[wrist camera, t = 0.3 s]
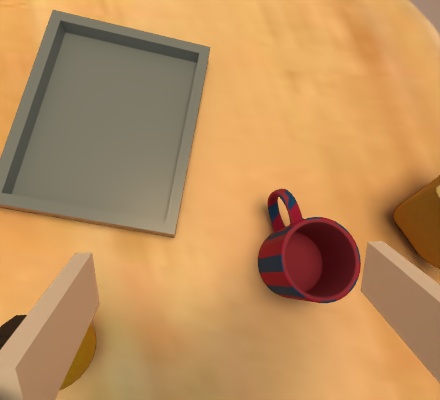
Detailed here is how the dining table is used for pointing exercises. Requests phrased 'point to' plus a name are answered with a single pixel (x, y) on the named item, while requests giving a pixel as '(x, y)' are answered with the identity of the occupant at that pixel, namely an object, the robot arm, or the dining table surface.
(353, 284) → the mug
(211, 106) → the dining table surface
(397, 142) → the dining table surface
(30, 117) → the tray
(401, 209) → the flower pot
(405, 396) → the dining table surface
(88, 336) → the lemon
